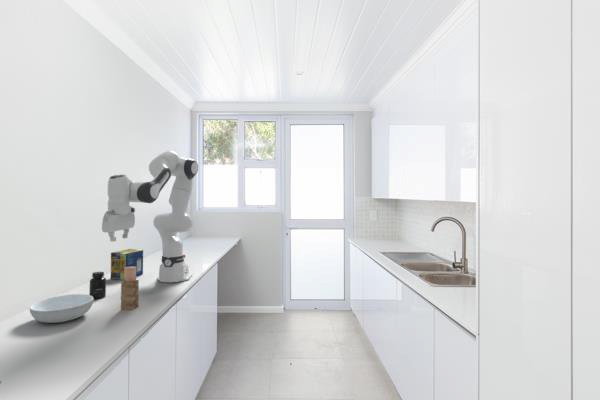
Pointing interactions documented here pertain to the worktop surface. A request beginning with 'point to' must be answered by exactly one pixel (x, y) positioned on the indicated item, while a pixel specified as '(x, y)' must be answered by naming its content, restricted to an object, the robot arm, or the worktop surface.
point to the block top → (129, 286)
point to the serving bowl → (61, 308)
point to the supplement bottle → (98, 285)
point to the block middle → (129, 295)
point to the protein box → (126, 262)
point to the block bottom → (129, 304)
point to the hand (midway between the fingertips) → (119, 239)
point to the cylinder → (130, 274)
